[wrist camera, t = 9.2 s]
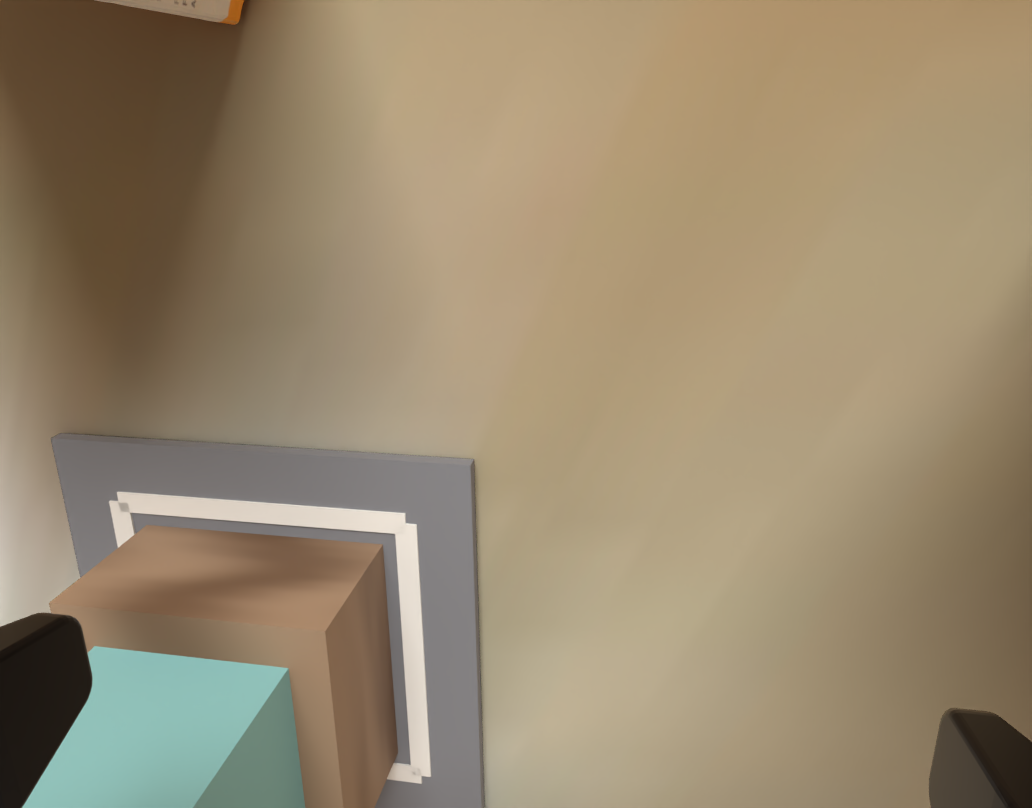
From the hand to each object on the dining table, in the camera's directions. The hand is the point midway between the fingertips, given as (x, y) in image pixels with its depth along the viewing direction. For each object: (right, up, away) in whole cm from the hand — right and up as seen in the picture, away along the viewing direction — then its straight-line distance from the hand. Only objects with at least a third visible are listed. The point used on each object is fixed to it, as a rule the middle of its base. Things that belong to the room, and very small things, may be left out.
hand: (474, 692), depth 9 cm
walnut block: (-7, -4, +16) cm, 18 cm away
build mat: (-6, -4, +16) cm, 18 cm away
